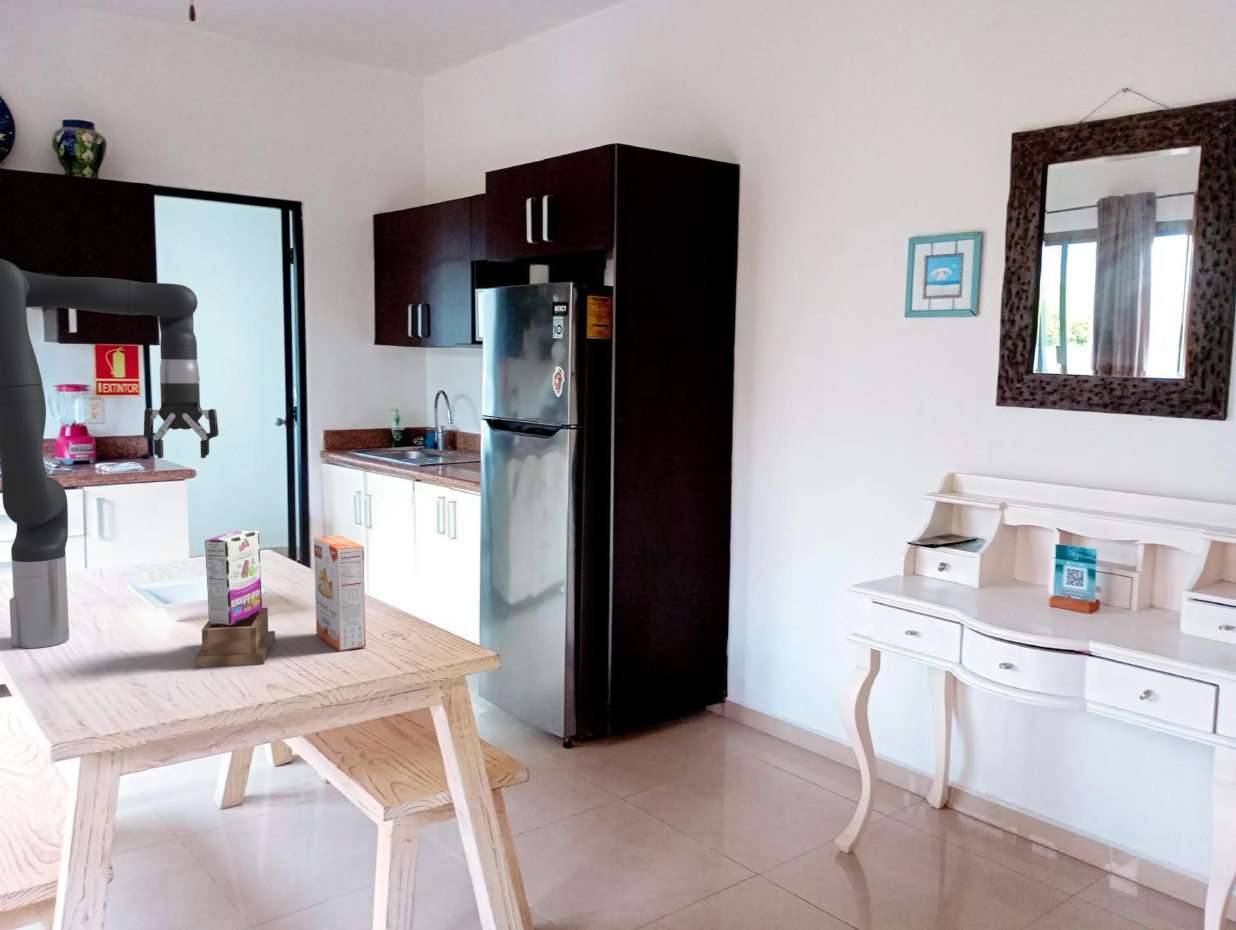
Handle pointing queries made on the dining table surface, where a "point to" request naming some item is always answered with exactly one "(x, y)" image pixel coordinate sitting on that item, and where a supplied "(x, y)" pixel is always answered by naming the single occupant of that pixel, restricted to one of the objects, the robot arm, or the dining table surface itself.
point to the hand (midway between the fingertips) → (182, 457)
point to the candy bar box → (233, 577)
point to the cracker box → (340, 592)
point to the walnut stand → (236, 642)
